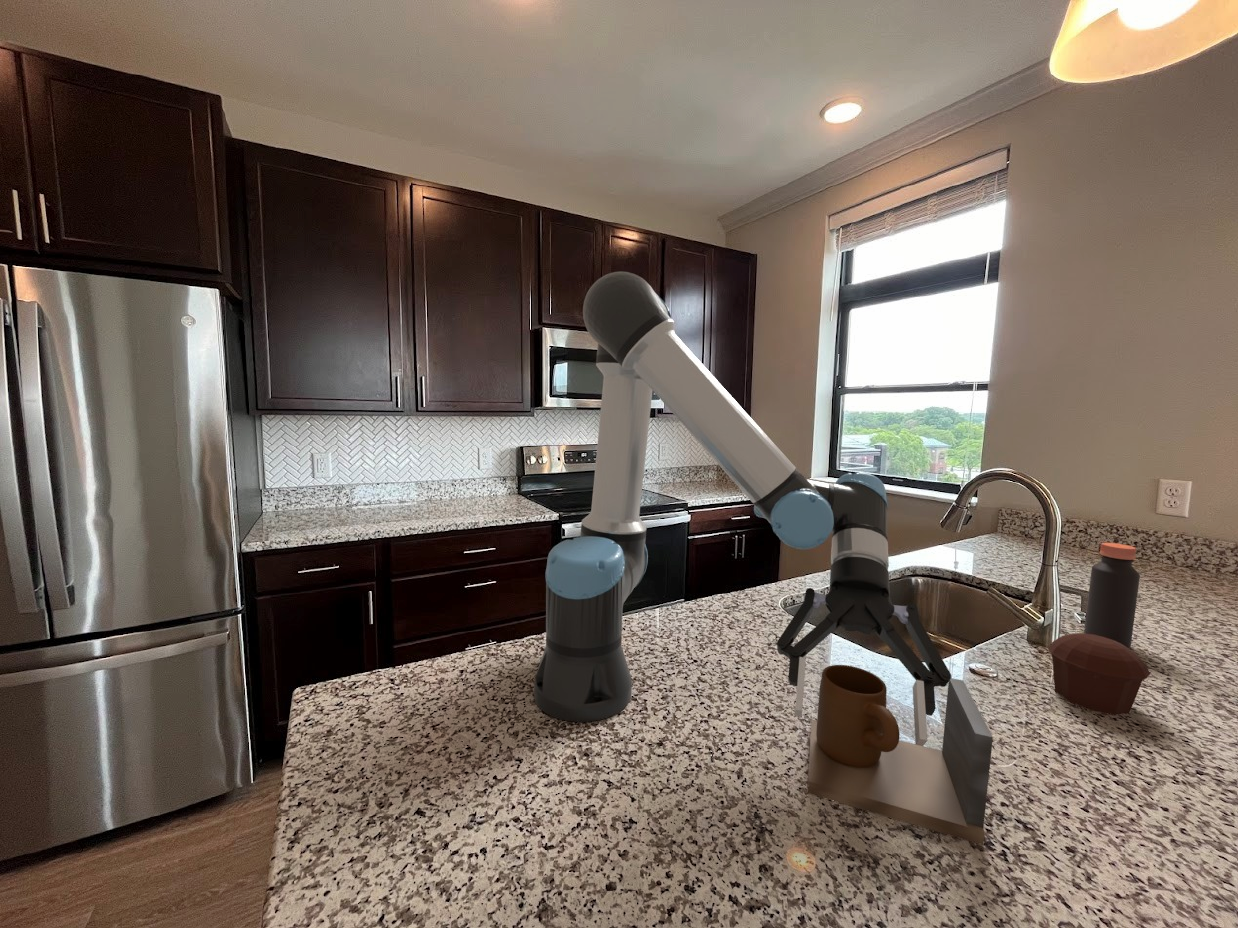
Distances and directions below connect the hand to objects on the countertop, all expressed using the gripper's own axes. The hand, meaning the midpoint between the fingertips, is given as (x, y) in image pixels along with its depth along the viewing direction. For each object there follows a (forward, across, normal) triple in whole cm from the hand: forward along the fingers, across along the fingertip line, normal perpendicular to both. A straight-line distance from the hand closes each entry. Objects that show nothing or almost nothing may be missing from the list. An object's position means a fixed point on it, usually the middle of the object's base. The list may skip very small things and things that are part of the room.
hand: (857, 727), depth 59 cm
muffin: (-21, -36, -31) cm, 52 cm away
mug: (+3, 0, -6) cm, 6 cm away
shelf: (+3, -4, -7) cm, 8 cm away
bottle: (-40, -49, -51) cm, 81 cm away
